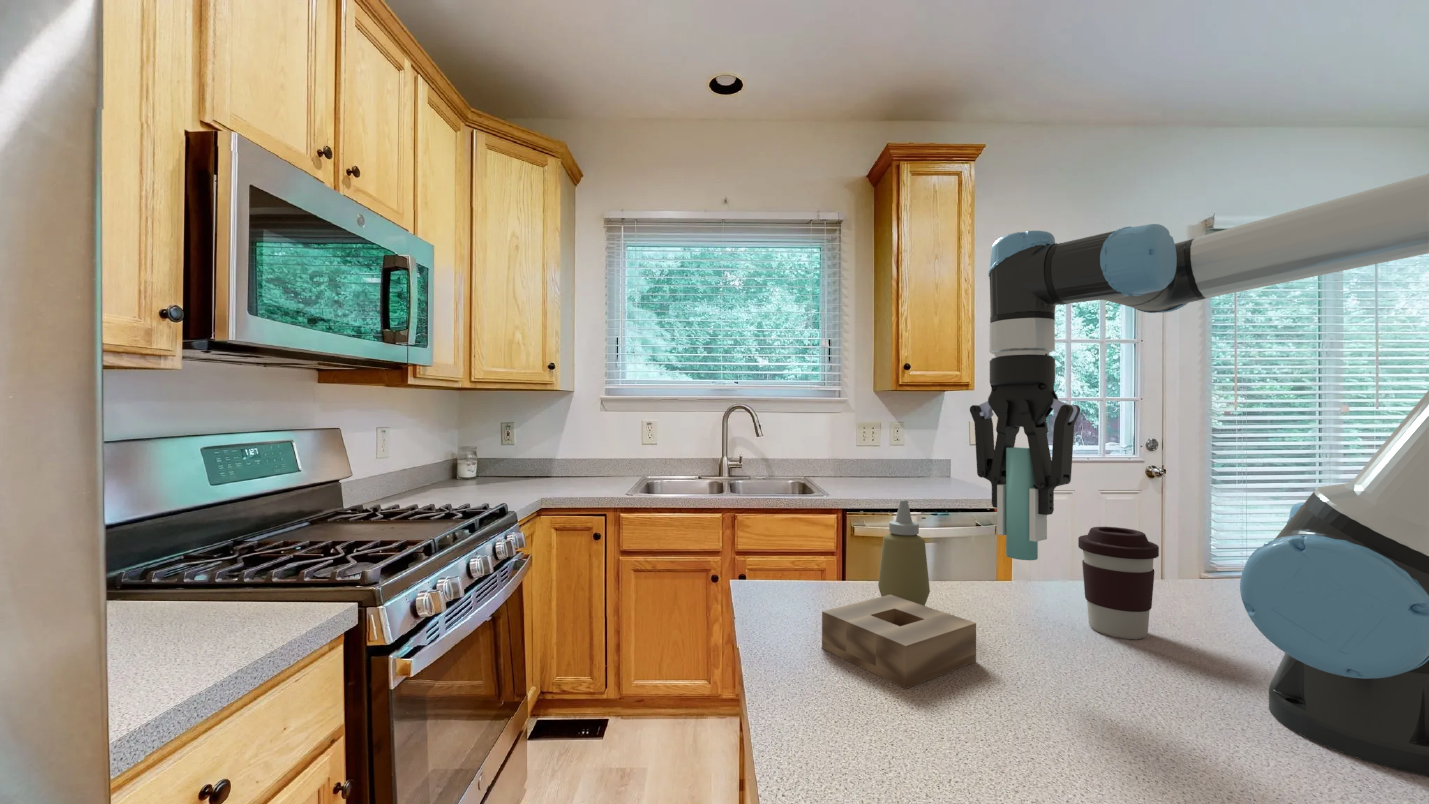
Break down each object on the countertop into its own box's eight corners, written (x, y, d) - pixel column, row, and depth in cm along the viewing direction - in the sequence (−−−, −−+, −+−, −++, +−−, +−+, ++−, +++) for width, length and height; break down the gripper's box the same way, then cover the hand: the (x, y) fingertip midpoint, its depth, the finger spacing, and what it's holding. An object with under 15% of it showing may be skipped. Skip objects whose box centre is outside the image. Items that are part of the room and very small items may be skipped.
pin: (1043, 557, 75) (1043, 448, 75) (1027, 561, 73) (1027, 449, 73) (1015, 552, 78) (1015, 447, 78) (1000, 555, 76) (1000, 447, 76)
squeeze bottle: (937, 620, 92) (937, 504, 92) (885, 619, 92) (885, 504, 92) (920, 603, 100) (920, 497, 100) (872, 602, 100) (872, 496, 100)
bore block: (976, 661, 76) (976, 623, 76) (905, 688, 69) (905, 645, 69) (890, 628, 88) (890, 594, 88) (821, 648, 80) (822, 611, 81)
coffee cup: (1132, 620, 92) (1132, 525, 92) (1175, 645, 82) (1175, 538, 82) (1066, 618, 93) (1065, 523, 93) (1100, 642, 83) (1100, 536, 83)
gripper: (1106, 352, 71) (1106, 546, 71) (979, 361, 85) (979, 523, 85) (1075, 348, 67) (1075, 553, 67) (947, 358, 81) (946, 528, 81)
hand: (1021, 536), depth 76 cm, fingers closed on pin, 3 cm apart
